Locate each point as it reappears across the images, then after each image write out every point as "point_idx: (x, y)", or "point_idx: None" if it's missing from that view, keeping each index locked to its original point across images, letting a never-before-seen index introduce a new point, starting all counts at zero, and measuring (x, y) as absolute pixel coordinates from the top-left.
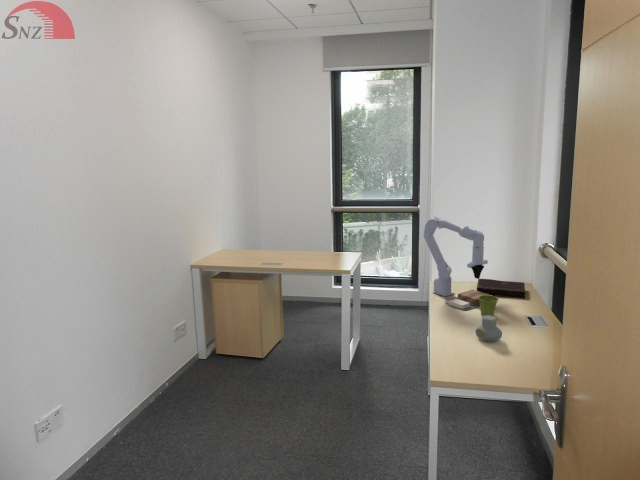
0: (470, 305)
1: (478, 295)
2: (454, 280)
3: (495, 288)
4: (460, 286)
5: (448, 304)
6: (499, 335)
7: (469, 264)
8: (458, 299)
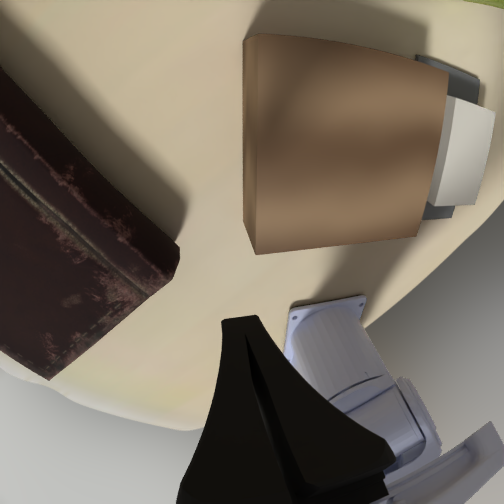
0: None
1: (366, 109)
2: (125, 414)
3: (35, 184)
4: (154, 371)
5: None
6: None
7: (502, 462)
8: (440, 188)
